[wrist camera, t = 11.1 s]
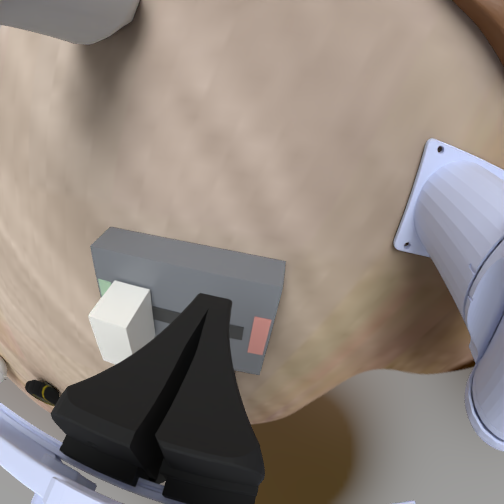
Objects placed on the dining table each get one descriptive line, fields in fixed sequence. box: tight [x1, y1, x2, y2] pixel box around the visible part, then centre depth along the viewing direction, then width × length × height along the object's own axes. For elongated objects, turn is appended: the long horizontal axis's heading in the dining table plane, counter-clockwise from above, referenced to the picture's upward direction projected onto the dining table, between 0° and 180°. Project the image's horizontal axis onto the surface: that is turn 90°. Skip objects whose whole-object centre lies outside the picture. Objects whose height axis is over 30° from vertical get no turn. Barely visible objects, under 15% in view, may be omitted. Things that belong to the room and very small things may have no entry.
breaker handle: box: [88, 280, 155, 365], centre depth 20 cm, size 3×5×4 cm, turn 172°
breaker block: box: [90, 227, 286, 375], centre depth 23 cm, size 14×10×3 cm
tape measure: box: [25, 380, 59, 406], centre depth 44 cm, size 7×7×4 cm
